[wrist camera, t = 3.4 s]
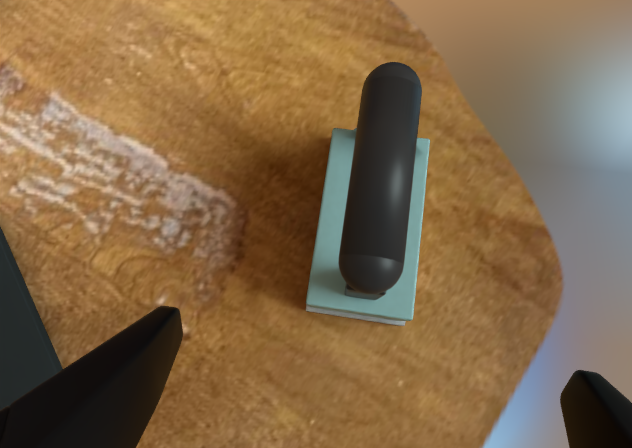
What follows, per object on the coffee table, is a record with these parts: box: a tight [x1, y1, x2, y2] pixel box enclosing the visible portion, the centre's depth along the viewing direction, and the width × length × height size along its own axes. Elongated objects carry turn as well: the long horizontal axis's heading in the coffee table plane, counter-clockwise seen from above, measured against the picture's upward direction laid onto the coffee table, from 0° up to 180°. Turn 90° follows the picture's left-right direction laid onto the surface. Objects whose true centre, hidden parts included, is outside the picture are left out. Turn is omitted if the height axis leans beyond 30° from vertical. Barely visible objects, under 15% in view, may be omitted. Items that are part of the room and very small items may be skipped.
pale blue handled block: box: [306, 62, 430, 326], centre depth 18 cm, size 10×5×9 cm, turn 171°
